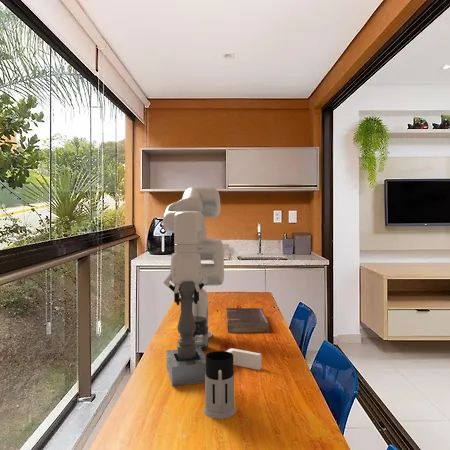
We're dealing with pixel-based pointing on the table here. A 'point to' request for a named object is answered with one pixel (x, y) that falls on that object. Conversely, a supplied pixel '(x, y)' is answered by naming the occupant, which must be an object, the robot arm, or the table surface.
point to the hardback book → (246, 320)
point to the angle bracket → (246, 358)
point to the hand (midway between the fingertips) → (186, 303)
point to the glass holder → (219, 385)
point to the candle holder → (186, 322)
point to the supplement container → (201, 333)
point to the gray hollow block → (186, 368)
